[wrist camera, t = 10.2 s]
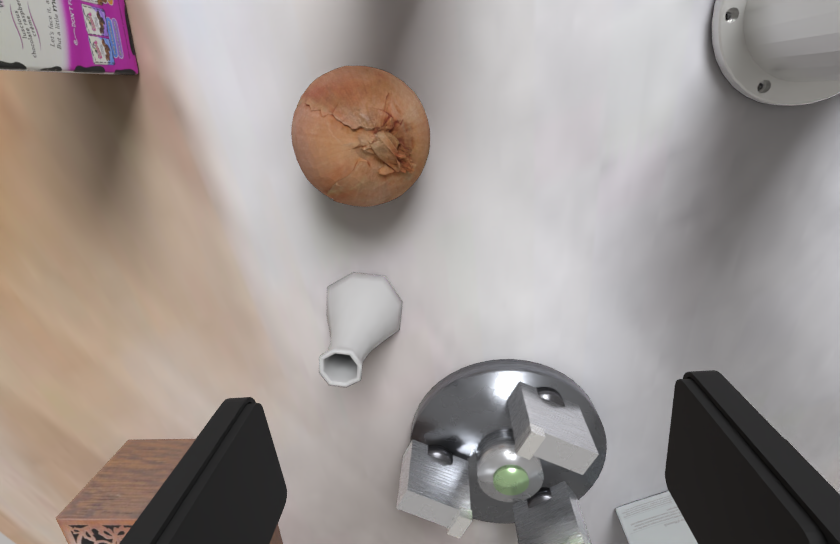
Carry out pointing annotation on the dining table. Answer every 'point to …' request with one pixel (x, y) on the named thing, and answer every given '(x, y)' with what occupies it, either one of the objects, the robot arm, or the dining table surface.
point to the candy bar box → (66, 37)
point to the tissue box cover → (123, 492)
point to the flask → (357, 324)
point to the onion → (360, 135)
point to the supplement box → (654, 521)
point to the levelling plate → (490, 412)
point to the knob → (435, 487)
